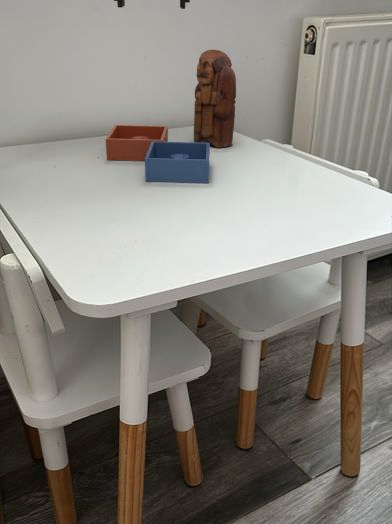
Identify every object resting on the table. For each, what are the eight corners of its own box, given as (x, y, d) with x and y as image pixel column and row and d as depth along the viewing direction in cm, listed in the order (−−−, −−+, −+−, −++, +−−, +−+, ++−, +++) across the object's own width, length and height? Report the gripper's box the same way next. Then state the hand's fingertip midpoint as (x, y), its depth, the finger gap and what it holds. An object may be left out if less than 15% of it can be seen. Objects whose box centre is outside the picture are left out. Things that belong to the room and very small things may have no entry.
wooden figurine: (184, 138, 125) (184, 48, 115) (206, 134, 128) (208, 46, 118) (217, 150, 117) (221, 54, 107) (240, 145, 121) (245, 52, 111)
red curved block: (145, 155, 111) (145, 142, 110) (127, 154, 111) (127, 142, 110) (149, 144, 118) (149, 133, 117) (132, 144, 118) (132, 132, 117)
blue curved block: (188, 176, 100) (188, 162, 99) (168, 175, 100) (167, 162, 99) (189, 163, 107) (189, 150, 106) (171, 162, 107) (171, 149, 106)
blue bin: (145, 181, 99) (144, 158, 97) (152, 162, 109) (151, 141, 107) (208, 183, 99) (209, 160, 97) (209, 163, 109) (209, 142, 107)
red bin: (106, 160, 110) (105, 139, 108) (116, 144, 120) (114, 124, 118) (163, 161, 110) (163, 140, 107) (168, 145, 120) (167, 126, 118)
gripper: (211, -132, 80) (207, 7, 90) (91, -134, 80) (100, 5, 90) (210, -141, 74) (207, 10, 84) (81, -143, 74) (92, 7, 84)
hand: (152, 7), depth 87 cm, fingers open, 9 cm apart
